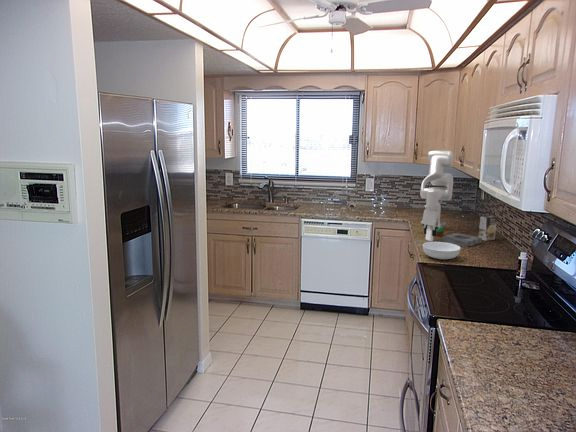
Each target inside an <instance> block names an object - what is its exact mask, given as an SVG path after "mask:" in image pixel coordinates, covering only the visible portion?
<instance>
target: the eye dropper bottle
mask: <svg viewBox="0 0 576 432" xmlns="http://www.w3.org/2000/svg"><path fill="white" fill-rule="evenodd" d="M432 230H433V229H432V226H430V225H428V228H427V229H426V234H425V240H426V241H427V242H434V237H435V236H432Z"/></svg>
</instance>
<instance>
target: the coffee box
mask: <svg viewBox="0 0 576 432" xmlns="http://www.w3.org/2000/svg"><path fill="white" fill-rule="evenodd" d="M479 219H480V220H479V229H478V236H477V237H480V238H482V241H484V242H485V241H493V240H495V239H496V229H497V225H498V224H497V223H498V221H497V220H498V216H494V215H481V216H480V218H479Z"/></svg>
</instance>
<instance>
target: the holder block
mask: <svg viewBox="0 0 576 432" xmlns="http://www.w3.org/2000/svg"><path fill="white" fill-rule="evenodd" d="M482 241H483V240H482V238H480V237H478V236H476V235H469V234H464V233H458V232H455V233H454V232H453V233H451V234H448V235H443V236H442V238H441V242H446V243H451V244H455V245H457V246H459V247H464V246H465V247H464V248H469V246H470V247H472V246H476V245H479V244H482Z"/></svg>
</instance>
